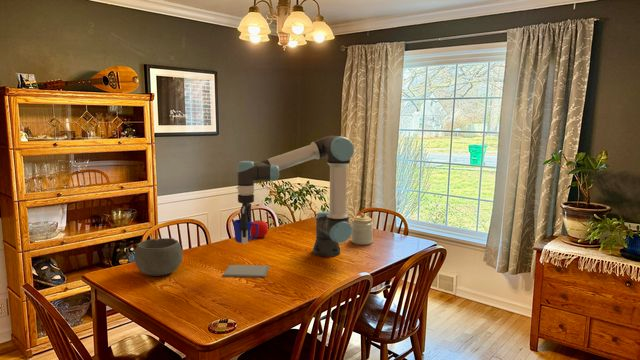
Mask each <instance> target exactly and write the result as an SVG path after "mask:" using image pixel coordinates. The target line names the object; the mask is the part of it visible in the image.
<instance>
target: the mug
mask: <svg viewBox="0 0 640 360" xmlns="http://www.w3.org/2000/svg"><path fill="white" fill-rule="evenodd" d="M251 225H257V229H256V235H255V237H253V236H252V235H251ZM258 226H259V225H258V224H256V223H251V220H248V222H247V230H248V242H249V241H250V240H255V239H256V238H257V234H258ZM240 228H241V218H239V219H235V220H233V231H234V232H233V233H234V239H235V242H237V243H238V244H242V230H240ZM243 228H244V227H243Z"/></svg>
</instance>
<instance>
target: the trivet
mask: <svg viewBox="0 0 640 360" xmlns="http://www.w3.org/2000/svg"><path fill="white" fill-rule="evenodd" d="M269 269H270V265H260V264H259V265H254V264H250V265H249V264H229V265H228V266H227V268H226V269H225V271H224V272H223V273H222V276H221V277H223V278H266V277H267V274H268V271H269Z"/></svg>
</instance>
